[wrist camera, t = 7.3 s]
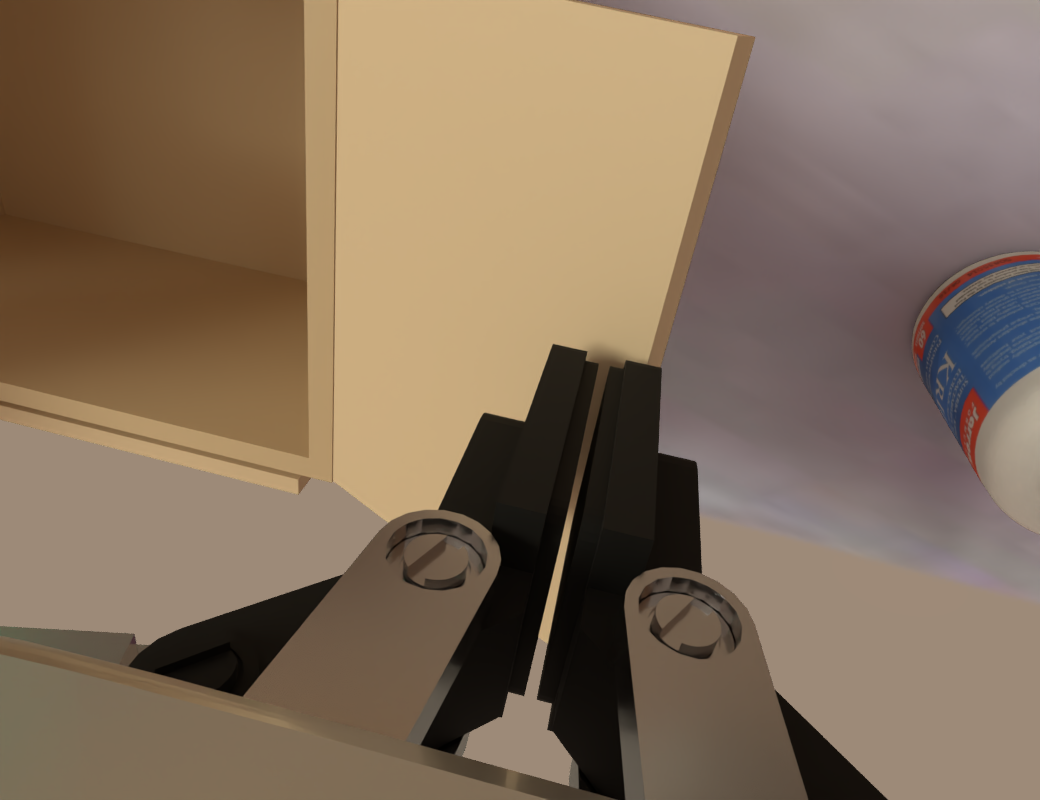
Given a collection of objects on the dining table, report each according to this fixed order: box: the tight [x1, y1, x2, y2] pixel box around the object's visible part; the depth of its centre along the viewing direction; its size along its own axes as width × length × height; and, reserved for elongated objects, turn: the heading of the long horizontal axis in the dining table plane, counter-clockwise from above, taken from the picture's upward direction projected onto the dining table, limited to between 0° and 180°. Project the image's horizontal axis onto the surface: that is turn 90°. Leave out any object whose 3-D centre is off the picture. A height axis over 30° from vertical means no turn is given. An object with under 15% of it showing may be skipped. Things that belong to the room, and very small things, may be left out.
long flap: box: [333, 0, 755, 644], centre depth 13 cm, size 1×11×7 cm
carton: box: [0, 0, 338, 494], centre depth 20 cm, size 18×14×10 cm
